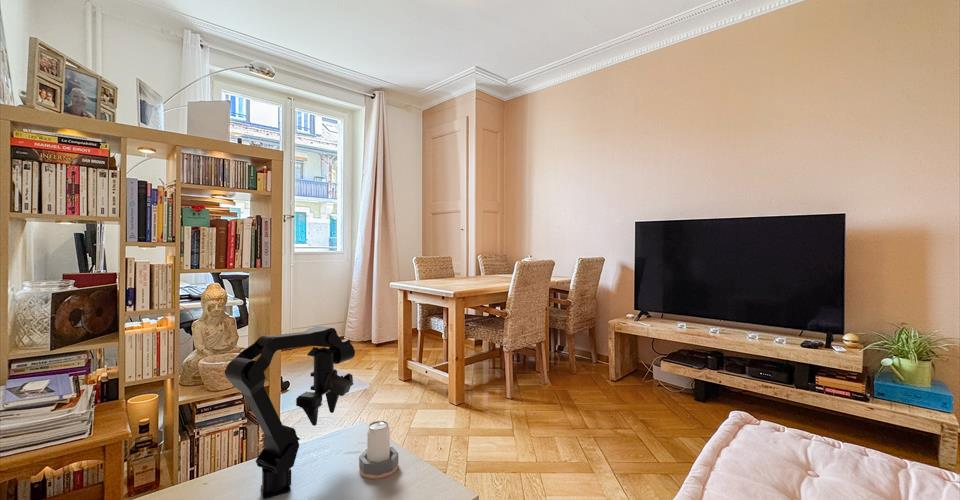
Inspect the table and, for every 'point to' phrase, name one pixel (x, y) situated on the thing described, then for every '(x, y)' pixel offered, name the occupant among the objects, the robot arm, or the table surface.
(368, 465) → the socket
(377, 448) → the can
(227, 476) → the table surface
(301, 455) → the table surface
